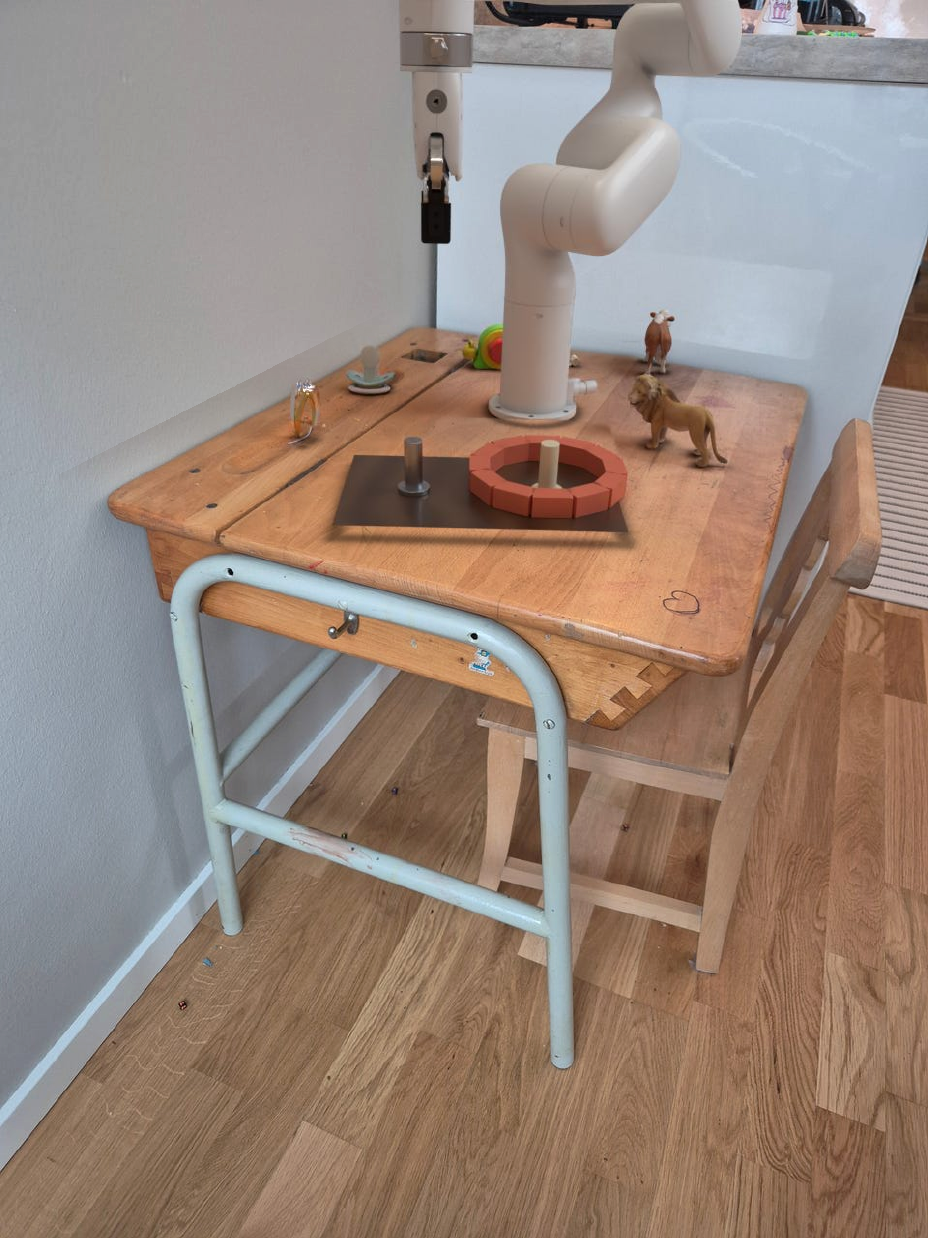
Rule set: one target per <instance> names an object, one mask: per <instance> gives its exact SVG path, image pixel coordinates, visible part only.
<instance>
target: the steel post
mask: <svg viewBox="0 0 928 1238" xmlns="http://www.w3.org/2000/svg"><path fill="white" fill-rule="evenodd" d="M423 445H424V444H423V439H422V437H418V436H408V437H406V438H404V440H403V449H404V450H403V451H404V452H403V453H404V455H403V456H404V457H405V481H402V482H400V483H399V484H398V492H399V493H400V494H402V495H404V496H408V497H420V496H424V495H426V494H428V493H429V491H430V485H429V483H428V482H426V481H423V456H424V454H423V452H424V449H423Z"/></svg>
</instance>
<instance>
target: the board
mask: <svg viewBox="0 0 928 1238" xmlns="http://www.w3.org/2000/svg"><path fill="white" fill-rule="evenodd" d="M539 467H540V461H525V462H520V463H516V464H511V465H506V466H503V467H501V468H500V469H498V470H497V471H496V472H495V473H496V474H498V475H499V476H501V477H502V478H504V479H505V480H506V481H510V482H514V483H518V484H521V485H525V486H529V487H532V485H534V484H536V483H538V481H539ZM597 479H599V477H597V476H595V475H594V474H592V473H590V472H589V471H587V470H585V469H584V468H581V467H577V466H573V465H569V464H564V463H560V462H558V468H557V480H556V484H557V485H559V486H561V487H562V489H568V488H573V487H577V486H581V485H586V484H590V483H594V482H595V481H596V480H597ZM402 481H405V457H404V455H381V454H379V455H375V454H353V457H352V460H351V463H350V467H349V471H348V473H347V477H346V479H345V483H344V487H343V489H342V493H341V496H340V498H339V503H338V505H337V508H336V512H335V515H334V518H333V522H332V526H336V527H337V526H342V527H343V526H345V527H382V528H383V527H388V528H425V529H426V528H428V529H429V528H430V529H471V530H512V531H513V530H514V531H555V532H558V531H560V532H596V533H597V532H598V533H599V532H601V533H629V529H628V526H627V523H626V520H625V516H624V514H623V511H622V507H621V503H620V500H618V501H617V502H616V503H615V504H614V505H613V506H612V507H611V508H608V509H607V510H605V511H601V512H597V513H593V514H589V515H585V516H581V517H577V518H575V517H573V516H572V517H571V518H534V517H531V514H530V515H529V516H527V517H526V516H523V515H519V514H515V513H512V512H508V511H504V510H501V509H497V508H493V505H491V506H489V505H488V504H486V503H485V502H484V501H482V500H481V499H480V498H478V497H477V496H476V495H475V494H473V493H472V492H471V491H470V489H469V456H468V457H466V456H465V457H464V456H427V455H426V456H424V455H423V481H426V482H428V483H429V485H430V491H429V493H428V494H426V495H424V496H420V497H408V496H404V495H402V494H400V493H399V492H398V484H399V483H400V482H402Z"/></svg>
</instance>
